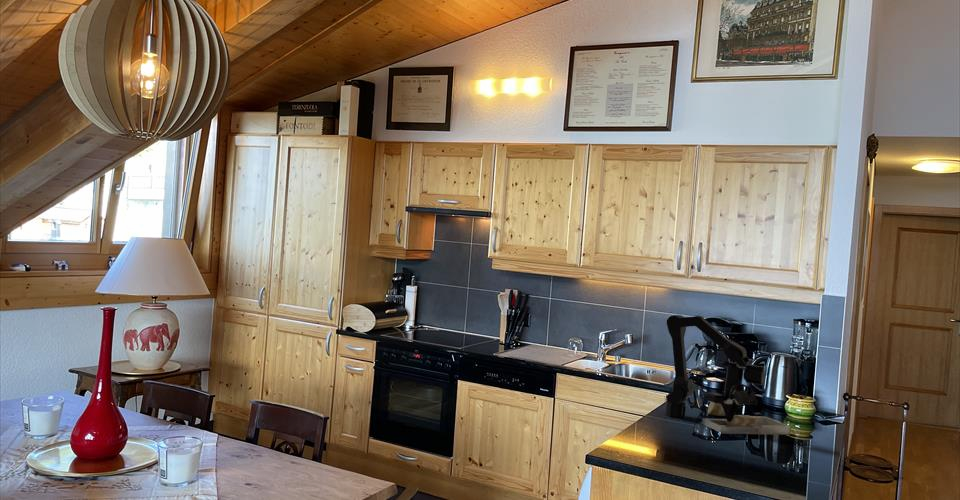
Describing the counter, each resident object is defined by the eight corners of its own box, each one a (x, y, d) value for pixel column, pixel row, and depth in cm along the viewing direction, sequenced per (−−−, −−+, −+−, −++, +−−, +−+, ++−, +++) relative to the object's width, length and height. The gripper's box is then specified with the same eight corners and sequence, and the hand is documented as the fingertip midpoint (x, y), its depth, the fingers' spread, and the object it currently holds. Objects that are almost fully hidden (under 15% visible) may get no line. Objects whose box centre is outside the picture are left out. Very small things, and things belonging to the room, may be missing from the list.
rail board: (722, 435, 270) (723, 425, 270) (699, 424, 284) (700, 414, 283) (790, 436, 280) (791, 426, 280) (764, 425, 293) (765, 416, 293)
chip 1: (734, 430, 278) (736, 418, 277) (727, 426, 282) (728, 414, 282) (744, 430, 279) (746, 418, 279) (737, 426, 283) (738, 415, 283)
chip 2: (744, 430, 279) (746, 418, 279) (737, 426, 283) (738, 415, 283) (754, 430, 280) (756, 418, 280) (747, 427, 285) (748, 415, 285)
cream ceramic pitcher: (737, 421, 297) (728, 399, 296) (712, 428, 300) (704, 406, 299) (734, 412, 305) (726, 391, 303) (711, 419, 307) (702, 397, 306)
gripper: (726, 383, 268) (721, 427, 269) (769, 385, 274) (764, 428, 274) (707, 376, 279) (702, 418, 279) (749, 379, 285) (744, 420, 285)
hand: (728, 421), depth 279 cm, fingers closed
